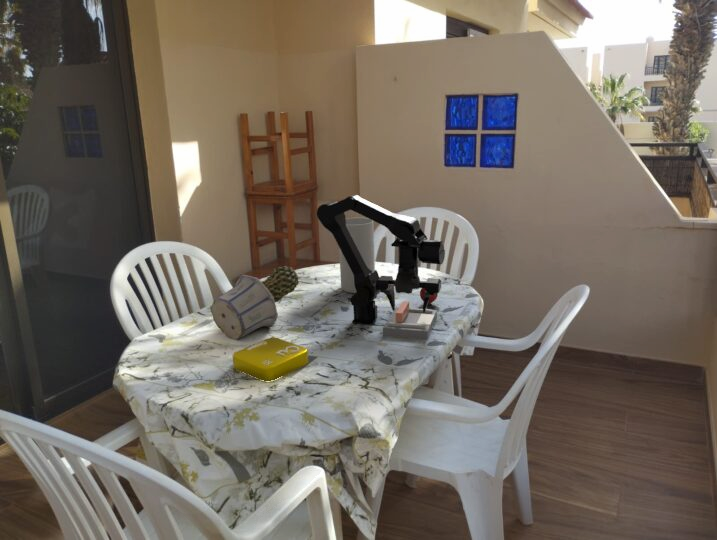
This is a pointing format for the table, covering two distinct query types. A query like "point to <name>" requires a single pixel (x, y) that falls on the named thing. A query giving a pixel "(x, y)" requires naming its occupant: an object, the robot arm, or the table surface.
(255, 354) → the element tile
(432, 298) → the pomegranate
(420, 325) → the box
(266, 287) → the potted plant
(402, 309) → the lever
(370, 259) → the cylinder vase
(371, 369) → the table surface
